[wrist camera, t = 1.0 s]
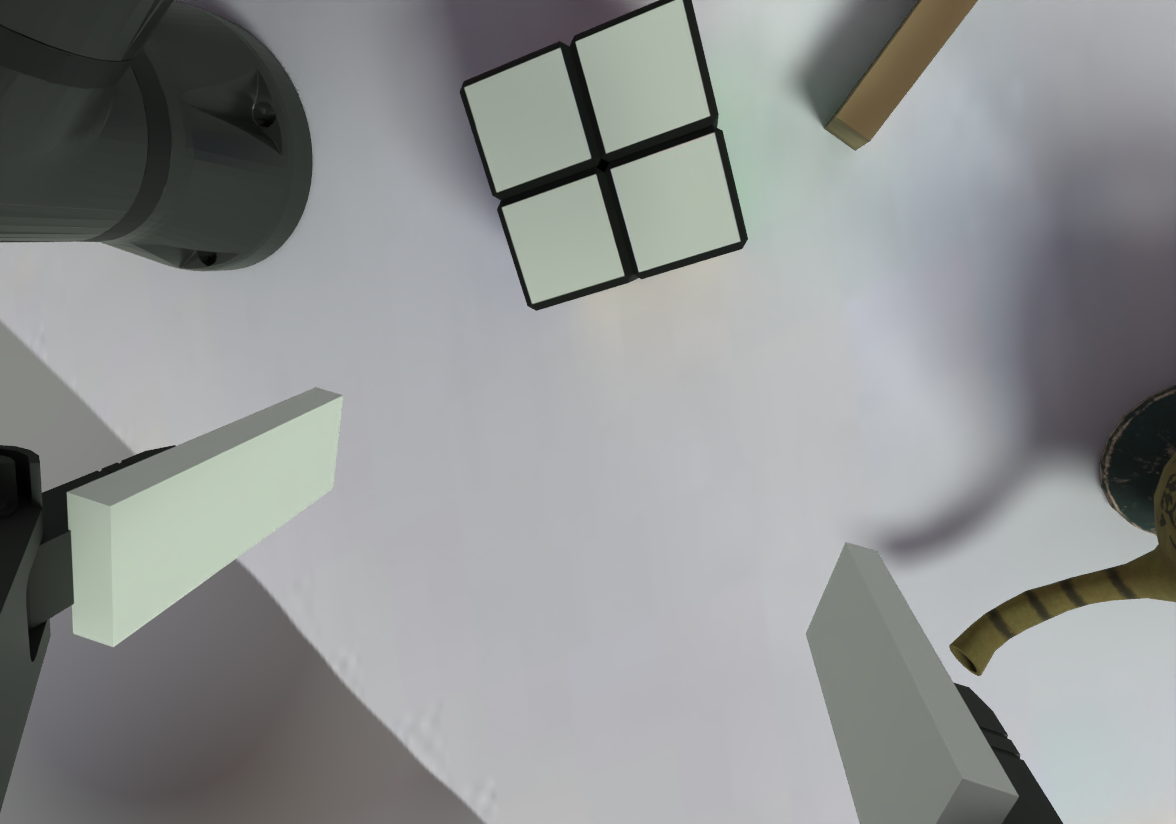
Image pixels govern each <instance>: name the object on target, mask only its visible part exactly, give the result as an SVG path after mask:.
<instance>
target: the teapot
mask: <svg viewBox="0 0 1176 824" xmlns="http://www.w3.org/2000/svg"><path fill="white" fill-rule="evenodd" d="M1100 473H1101V486H1102V488H1103V490H1104V492H1105V494H1106V496H1107V498H1108V500H1109V502H1110V504H1111V506H1112V508H1114V509H1115V510H1116V511H1117V512H1118V513H1119V514H1120V515H1121V516H1123V517H1124V518H1125V519H1126V520H1127V521H1128V522H1129V523H1130V524H1132V525H1134V526H1135V527H1137V528H1140V529H1142V530H1144V531H1147V532H1149V533H1151V534H1154V535H1156V536H1157V537H1158V542H1159V545H1158V546H1157V547H1156V548H1155V549H1154V550H1153V551H1151V552H1149V553H1147V554H1145V555H1143V556H1141V557H1139V558H1137V559H1135V560H1133V561H1131V562H1129V563H1127V564H1124V565H1120V566H1116V567H1112V568H1108V569H1104V570H1100V571H1097V572H1093V573H1089V574H1084V575H1080V576H1076V577H1072V578H1069V579H1066V580H1062V581H1059V582H1056V583H1053V584H1049V585H1046V586H1042V587H1039V588H1035V589H1031V590H1028V591H1025V592H1023V593H1021V594H1019V595H1018V596H1016V597H1014V598H1012V599H1010V600H1008V601H1006V602H1004V603H1003V604H1001V605H999V606H997V607H996V608H994V609H992V610H991V611H989V612H987V613H986V614H984V615H983V616H982V617H981V618H979V619H978V620H977V621H976V622H974V623H973V624H972V625H971V626H970V627H969V628H967V629H966V630H965V631H964V632H963V633H962V634H961V635H960V636H959V637H958V638H957V639H956V640H955V641H954V642H953V643H952V644H950V645H949V647H950V650H951V652H952V653H953V655H954V656H955V657H956V659H957V660H958V661H959V662H960V663H961V664H962V665H963V666H964V667H965V668H967V669H968V670H969V671H970V672H972V673H973V674H975V675H977V676H980V675H982V673H983V671H984V669H985V668H986V666H987V664H988V662H989V661H990V659H991V657H992V655H993V654H994V652H995V651H996V650H997V649H998V648H999V647H1000V646H1002V645H1003V644H1004V643H1005V642H1006V641H1008V640H1009V639H1010V638H1012V637H1014V636H1016V635H1017V634H1019V633H1021V632H1023V631H1025V630H1026V629H1028V628H1030V627H1033V626H1035V625H1037V624H1039V623H1041V622H1044V621H1046V620H1048V619H1050V618H1053V617H1055V616H1057V615H1059V614H1061V613H1064V612H1066V611H1068V610H1072V609H1075V608H1078V607H1082V606H1085V605H1088V604H1093V603H1099V602H1105V601H1111V600H1125V599H1140V598H1150V599H1158V600H1165V601H1172V602H1176V385H1175V386H1172V387H1170V388H1168V389H1165V390H1163V391H1161V392H1159V393H1156V394H1154V395H1152V396H1149V397H1148V398H1146V399H1145V400H1144V401H1142V402H1141V403H1140V404H1139V405H1137V406H1136V407H1135V408H1133V409H1132V410H1131V411H1130V412H1128V413H1127V414H1126V415H1124V417H1123V418H1122V419H1121V421H1120V422H1119V423H1118V425H1117V426H1116V428H1115V429H1114V430H1113V432H1112V433H1111V434H1110V436H1109V437H1108V438H1107V442H1106V445H1105V448H1104V451H1103V454H1102V457H1101V461H1100Z"/></svg>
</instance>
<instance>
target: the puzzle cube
mask: <svg viewBox="0 0 1176 824" xmlns="http://www.w3.org/2000/svg"><path fill="white" fill-rule="evenodd" d="M460 94H461V97H462V101H463V104H464V107H465V110H466V113H467V116H468V119H469V123H470V126H471V129H472V132H473V135H474V138H475V142H476V145H477V148H478V151H479V154H480V157H481V160H482V164H483V167H484V170H485V173H486V176H487V179H488V183H489V186H490V189H491V192H492V195H493V196H495V197H496V198H498V199H500V200H501V202H500V205H499V207H498V209H497V211H498V214H499V217H500V220H501V223H502V227H503V230H504V233H505V236H506V239H507V242H508V246H509V249H510V252H511V255H512V258H513V261H514V264H515V268H516V271H517V274H518V277H519V280H520V283H521V286H522V290H523V293H524V296H525V299H526V302H527V305H528V306H529V307H531V308H532V309H534V310H536V311H537V310H540V309H543V308H547V307H550V306H553V305H557V304H560V303H563V302H566V301H570V300H573V299H576V298H580V297H583V296H586V295H590V294H593V293H596V292H600V291H603V290H606V289H609V288H613V287H616V286H619V285H623V284H626V283H629V282H631V281H633V280H635V279H637V278H640V279H644V278H647V277H651V276H654V275H657V274H660V273H664V272H667V271H670V270H674V269H677V268H680V267H684V266H687V265H690V264H694V263H697V262H700V261H703V260H707V259H710V258H713V257H717V256H720V255H723V254H727V253H730V252H733V251H737V250H740V249H742V248H743V246H744V245H745V243H746V241H747V240H748V237H747V233H746V229H745V224H744V220H743V216H742V212H741V207H740V203H739V199H738V195H737V190H736V186H735V182H734V178H733V174H732V169H731V165H730V161H729V157H728V152H727V148H726V144H725V140H724V135H723V131H722V130H720V129H718V128H717V124H718V115H719V114H718V110H717V106H716V102H715V97H714V93H713V89H712V85H711V81H710V76H709V72H708V68H707V64H706V59H705V55H704V51H703V47H702V42H701V38H700V34H699V30H698V25H697V21H696V17H695V13H694V9H693V4H692V0H659V1H656V2H654V3H651V4H649V5H647V6H644V7H642V8H640V9H637V10H635V11H632V12H630V13H628V14H625V15H623V16H620V17H618V18H616V19H613V20H611V21H608V22H606V23H604V24H601V25H599V26H597V27H594V28H592V29H589V30H587V31H585V32H582V33H580V34H577V35H575V36H574V38H573V40H572V42H571V45H570V47H569V46H567V45H566V44H564V43H562V42H560V41H559V42H557V43H554V44H552V45H549V46H547V47H545V48H542V49H540V50H538V51H535V52H533V53H530V54H528V55H526V56H523V57H521V58H518V59H516V60H514V61H511V62H509V63H507V64H504V65H502V66H499V67H497V68H495V69H492V70H490V71H487V72H485V73H483V74H480V75H478V76H475V77H473V78H471V79H468V80H466V81H464V82H463V85H462V88H461V90H460Z"/></svg>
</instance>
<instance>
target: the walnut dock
mask: <svg viewBox="0 0 1176 824" xmlns="http://www.w3.org/2000/svg"><path fill="white" fill-rule="evenodd" d="M977 1H978V0H918V2H917V3H916V5H915V6H914V7H913V9H912V10H911V11H910V13H909V14H908V15H907V17H906V18H905V19H904V21H903V22H902V24H901V25H900V26H899V28H898V29H897V30H896V32H895V33H894V34H893V36H892V37H891V39H890V40H889V41H888V43H887V44H886V45H885V47H884V48H883V49H882V51H881V52H880V53H879V55H878V56H877V58H876V59H875V60H874V62H873V63H872V64H871V66H870V67H869V68H868V70H867V71H866V73H865V74H864V75H863V77H862V78H861V79H860V81H859V82H858V83H857V85H856V86H855V88H854V89H853V90H852V92H851V93H850V94H849V96H848V97H847V98H846V100H845V101H844V102H843V104H842V105H841V107H840V108H839V109H838V111H837V112H836V113H835V115H834V116H833V117H832V119H831V120H830V122H829V123H828V124H827V126H826V127H825V128H824V129H826V130H827V131H829V132H830V133H831V134H833V135H834V136H836V137H837V138H838V139H840V140H841V141H843V142H844V143H845V144H847V145H848V146H850V147H851V148H852V149H854V150H857V149H858V148H860V147H861V146H863V145H865V144H866V143H868V142H869V141H870V140H871V139H872V138H873V136H874V135H875V134H876V133H877V131H878V130H879V129H880V127H881V126H882V125H883V123H884V122H885V121H886V119H887V118H888V117H889V116H890V114H891V113H892V112H893V110H894V109H895V108H896V106H897V105H898V104H899V103H900V101H901V100H902V99H903V97H904V96H905V95H906V93H907V92H908V91H909V89H910V88H911V87H912V86H913V84H914V83H915V82H916V80H917V79H918V78H919V76H920V75H921V74H922V73H923V71H924V70H925V69H926V67H927V66H928V65H929V63H930V62H931V61H932V59H933V58H934V57H935V56H936V54H937V53H938V52H939V50H940V49H941V48H942V46H943V45H944V44H945V43H946V41H947V40H948V39H949V37H950V36H951V35H952V33H953V32H954V31H955V29H956V28H957V27H958V26H959V24H960V23H961V22H962V20H963V19H964V18H965V16H966V15H967V14H968V13H969V11H970V10H971V9H972V7H973V6H974V5H975V3H976V2H977Z"/></svg>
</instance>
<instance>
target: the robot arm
mask: <svg viewBox="0 0 1176 824" xmlns="http://www.w3.org/2000/svg"><path fill="white" fill-rule="evenodd" d="M311 178H312V146H311V138H310V132H309V128H308V123H307V119H306V116H305V113H304V110H303V107H302V104H301V101H300V99H299V96H298V94H297V92H296V90H295V88H294V86H293V84H292V82H291V80H290V79H289V77H288V75H287V74H286V72H285V71H284V69H283V68H282V66H281V65H280V64H279V62H278V61H277V60H276V58H275V57H274V56H273V55H272V54H271V52H270V51H269V50H268V49H267V48H266V47H265V46H264V45H263V44H262V43H261V42H259V41H258V40H257V39H256V38H255V37H254V36H252V35H251V34H250V33H248V32H247V31H245V30H244V29H242V28H241V27H239V26H237V25H235V24H233V23H232V22H229V21H227V20H225V19H223V18H221V17H219V16H217V15H215V14H212V13H210V12H208V11H206V10H204V9H201V8H199V7H196V6H193V5H190V4H186V3H182V2H178V1H173V0H0V242H73V241H77V242H101V243H104V244H107V245H110V246H113V247H116V248H118V249H121V250H124V251H127V252H130V253H133V254H136V255H139V256H142V257H145V258H148V259H150V260H153V261H156V262H159V263H162V264H165V265H168V266H171V267H175V268H179V269H185V270H193V271H218V270H234V269H240V268H245V267H248V266H251V265H254V264H256V263H258V262H260V261H262V260H264V259H266V258H267V257H269V256H270V255H272V254H273V253H274V252H275V251H277V250H278V249H279V248H280V247H281V246H282V245H283V244H284V243H285V242H286V240H287V239H288V238H289V237H290V235H291V234H292V232H293V231H294V229H295V228H296V226H297V224H298V222H299V220H300V218H301V216H302V214H303V211H304V209H305V206H306V203H307V199H308V195H309V191H310V185H311ZM342 402H343V395H340V394H337V393H334V392H330V391H327V390H323V389H320V388H313V389H311V390H309V391H306V392H304V393H302V394H299V395H297V396H294V397H292V398H290V399H287V400H285V401H283V402H280V403H278V404H275V405H273V406H271V407H268V408H266V409H264V410H261V411H259V412H256V413H254V414H252V415H249V416H247V417H244V418H242V419H240V420H237V421H235V422H233V423H230V424H228V425H225V426H223V427H221V428H218V429H216V430H214V431H211V432H209V433H206V434H204V435H202V436H199V437H197V438H195V439H192V440H190V441H187V442H185V443H183V444H180V445H178V446H175V445H174V446H169V447H164V448H159V449H153V450H148V451H144V452H142V453H139V454H137V455H134V456H132V457H130V458H127V459H125V460H122V462H121V463H120V464H119V463H115V464H113V465H110V466H108V467H105V468H102V470H101V471H100V472H99V471H95V472H93V473H90V474H88V475H85V476H83V477H80V478H78V479H75V480H73V481H70V482H68V483H65V484H63V485H61V486H58V487H56V488H53V489H51V490H48V491H46V492H43V493H42V491H41V476H40V461H39V455H37V454H35V453H34V452H32V451H31V450H28V449H24V448H19V447H15V446H3V445H0V811H1V808H2V804H3V800H4V797H5V793H6V790H7V787H8V783H9V780H10V776H11V772H12V769H13V766H14V762H15V758H16V755H17V751H18V748H19V744H20V741H21V737H22V734H23V730H24V727H25V723H26V720H27V716H28V713H29V709H30V706H31V702H32V699H33V695H34V692H35V688H36V684H37V681H38V678H39V674H40V671H41V667H42V663H43V660H44V657H45V653H46V649H47V646H48V642H49V639H50V621H49V618H51V617H53V616H54V615H56V614H58V613H59V612H61V611H63V610H64V609H66V608H68V607H69V606H71V605H72V615H73V633H74V634H76V635H79V636H82V637H85V638H88V639H91V640H94V641H97V642H100V643H103V644H106V645H109V646H111V647H114V646H116V645H117V644H118V643H120V642H121V641H122V640H124V639H125V638H127V637H128V636H129V635H131V634H132V633H134V632H135V631H136V630H138V629H139V628H140V627H142V626H143V625H145V624H146V623H147V622H149V621H150V620H152V619H153V618H154V617H156V616H157V615H158V614H160V613H161V612H163V611H164V610H165V609H167V608H168V607H170V606H171V605H172V604H174V603H175V602H177V601H178V600H179V599H181V598H182V597H183V596H185V595H186V594H187V593H189V592H190V591H192V590H193V589H194V588H196V587H197V586H199V585H200V584H201V583H203V582H204V581H205V580H207V579H208V578H210V577H211V576H212V575H214V574H215V573H217V572H218V571H219V570H221V569H222V568H224V567H225V566H226V565H228V564H229V563H230V562H232V561H233V560H235V559H236V558H237V557H239V556H240V555H242V554H243V553H244V552H246V551H247V550H248V549H250V548H251V547H253V546H254V545H255V544H257V543H258V542H260V541H261V540H262V539H264V538H265V537H266V536H268V535H269V534H271V533H272V532H273V531H275V530H276V529H278V528H279V527H280V526H282V525H283V524H284V523H286V522H287V521H289V520H290V519H291V518H293V517H294V516H296V515H297V514H298V513H300V512H301V511H302V510H304V509H305V508H307V507H308V506H309V505H311V504H312V503H314V502H315V501H316V500H318V499H319V498H320V497H322V496H323V495H325V494H326V493H327V492H329V491H330V490H332V489H333V482H334V473H335V464H336V455H337V447H338V438H339V429H340V420H341V411H342ZM806 636H807V639H808V643H809V646H810V650H811V653H812V657H813V660H814V664H815V667H816V671H817V674H818V678H819V681H820V685H821V689H822V692H823V696H824V699H825V703H826V706H827V710H828V713H829V717H830V720H831V724H832V727H833V731H834V734H835V738H836V741H837V745H838V748H839V752H840V755H841V759H842V762H843V766H844V769H845V773H846V777H847V780H848V784H849V787H850V791H851V794H852V798H853V801H854V805H855V808H856V812H857V815H858V819H859V822H860V824H1063V822H1062V821H1061V819H1060V818H1059V816H1058V814H1057V813H1056V811H1055V810H1054V808H1053V806H1052V805H1051V803H1050V802H1049V800H1048V798H1047V797H1046V795H1045V794H1044V792H1043V790H1042V789H1041V787H1040V786H1039V784H1038V782H1037V781H1036V779H1035V778H1034V776H1033V775H1032V773H1031V771H1030V770H1029V768H1028V767H1027V765H1026V763H1025V762H1024V760H1021V759H1020V754H1019V752H1018V751H1017V749H1016V747H1015V746H1014V744H1013V743H1012V741H1011V740H1010V739H1007V736H1008V735H1007V733H1006V731H1005V730H1004V728H1003V727H1002V725H1001V723H1000V722H999V720H998V719H997V717H996V715H995V714H994V712H993V711H992V710H991V709H990V708H989V707H988V706H987V705H986V704H985V703H984V702H983V701H982V700H981V699H980V698H979V697H978V696H977V695H976V694H975V693H974V692H973V691H972V690H971V689H970V688H969V687H966V686H963V685H959V684H956V683H953V681H952V680H951V678H950V676H949V674H948V673H947V671H946V669H945V667H944V666H943V664H942V662H941V661H940V659H939V657H938V655H937V654H936V652H935V650H934V648H933V647H932V645H931V643H930V642H929V640H928V638H927V636H926V635H925V633H924V631H923V629H922V628H921V626H920V624H919V623H918V621H917V619H916V617H915V616H914V614H913V612H912V610H911V609H910V607H909V605H908V604H907V602H906V600H905V598H904V597H903V595H902V593H901V591H900V590H899V588H898V586H897V585H896V583H895V581H894V579H893V578H892V576H891V574H890V572H889V571H888V569H887V567H886V566H885V564H884V562H883V560H882V559H881V557H880V555H879V553H878V552H877V551H874V550H871V549H867V548H864V547H860V546H857V545H854V544H850V543H847V542H846V543H845V545H844V547H843V550H842V552H841V554H840V557H839V559H838V561H837V563H836V566H835V568H834V570H833V573H832V575H831V577H830V580H829V582H828V584H827V586H826V589H825V591H824V593H823V596H822V598H821V600H820V602H819V605H818V607H817V609H816V612H815V614H814V616H813V619H812V621H811V623H810V625H809V628H808V630H807V632H806Z"/></svg>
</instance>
